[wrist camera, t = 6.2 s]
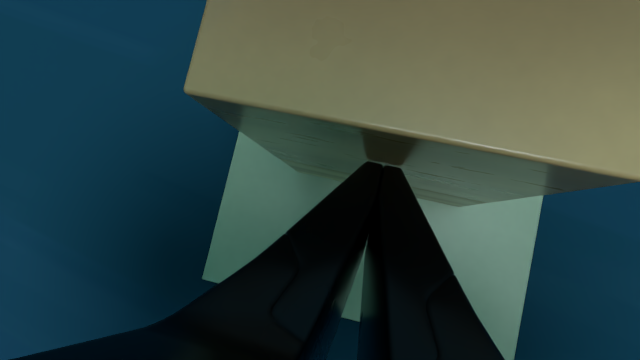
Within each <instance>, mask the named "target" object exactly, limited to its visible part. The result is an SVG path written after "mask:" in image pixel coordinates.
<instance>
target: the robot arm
mask: <svg viewBox="0 0 640 360" xmlns="http://www.w3.org/2000/svg"><path fill="white" fill-rule="evenodd" d="M367 238H368V239H367ZM366 242H367V244H366ZM365 246H366V249H365ZM364 251H365V257H364V270H363V284H362V298H361V312H360V325H359V339H358V353H357V360H505V359H504V357H503V356H502V354H501V353H500V351H499V350H498V348H497V347H496V345H495V344H494V342H493V340H492V339H491V337H490V336H489V334H488V332H487V331H486V329H485V328H484V326H483V324H482V323H481V321H480V319H479V318H478V316H477V315H476V313H475V311H474V309H473V307H472V306H471V304H470V302H469V300H468V298H467V296H466V295H465V293H464V291H463V289H462V287H461V285H460V283H459V281H458V279H457V277H456V276H455V275H454V271H453V269H452V267H451V265H450V264H449V262H448V260H447V258H446V256H445V254H444V252H443V250H442V248H441V246H440V244H439V242H438V240H437V238H436V236H435V234H434V232H433V230H432V228H431V226H430V224H429V222H428V220H427V218H426V216H425V214H424V212H423V210H422V208H421V206H420V204H419V202H418V200H417V198H416V196H415V194H414V192H413V190H412V188H411V187H410V185H409V183H408V181H407V179H406V177H405V175H404V173H403V171H402V169H401V168H399V167H394V166H389V165H384V167H383V165H382V164H380V163H375V162H370V161H366V162H365V163H363V164H362V165H361V166H360V167H359V168H358V169H357V170H356V171H354V172H353V173H352V174H351V175H350V176H349V177H348V178H346V179H345V180H344V181H343V182H342V183H341V184H340V185H339V186H337V187H336V188H335V189H334V190H333V191H332V192H331V193H329V194H328V195H327V196H326V197H325V198H324V199H323V200H322V201H320V202H319V203H318V204H317V205H316V206H315V207H314V208H312V209H311V210H310V211H309V212H308V213H307V214H306V215H305V216H303V217H302V218H301V219H300V220H299V221H298V222H297V223H295V224H294V225H293V226H292V227H291V228H290V229H289V230H288V231H286V234H283V235H282V236H281V237H279V238H278V239H277V240H276V241H275V242H274V243H273V244H272V245H270V246H269V247H268V248H267V249H265V250H264V251H263V252H262V253H261V254H259V255H258V256H257V257H256V258H254V259H253V260H252V261H250V262H249V263H247V264H246V265H245V266H243V267H242V268H240V269H239V270H238V271H236V272H235V273H233V274H232V275H231V276H229V277H228V278H226V279H225V280H223V281H222V282H220V283H219V284H217V285H216V286H214V287H213V288H212V289H210V290H209V291H207V292H206V293H204V294H203V295H201V296H200V297H198V298H197V299H195V300H194V301H193V302H191V303H190V304H188V305H187V306H185V307H184V308H182V309H181V310H179V311H178V312H176V313H174V314H173V315H171V316H169V317H167V318H165V319H163V320H161V321H159V322H157V323H155V324H152V325H149V326H147V327H144V328H140V329H137V330H132V331H128V332H124V333H120V334H116V335H111V336H107V337H103V338H99V339H95V340H91V341H86V342H82V343H78V344H74V345H70V346H66V347H61V348H57V349H53V350H49V351H45V352H41V353H36V354H32V355H28V356H24V357H20V358H15V359H10V360H326V358H327V355H328V352H329V349H330V346H331V344H332V341H333V338H334V335H335V333H336V330H337V327H338V324H339V321H340V319H341V316H342V313H343V310H344V307H345V305H346V302H347V299H348V296H349V294H350V291H351V288H352V285H353V282H354V280H355V277H356V274H357V271H358V268H359V266H360V263H361V260H362V257H363V254H364Z"/></svg>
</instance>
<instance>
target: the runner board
mask: <svg viewBox="0 0 640 360" xmlns="http://www.w3.org/2000/svg"><path fill="white" fill-rule="evenodd" d="M341 183H342V182H341V181H337V180H332V179H328V178H323V177H318V176H314V175H309V174H305V173H300V172H297V171H296V170H294V169H293V168H291V167H290V166H289V165H287V164H286V163H284V162H283V161H282V160H280V159H278V158H277V157H276V156H274V155H273V154H271V153H270V152H268V151H267V150H266V149H264V148H263V147H261V146H260V145H259V144H257V143H256V142H254V141H253V140H251V139H250V138H249V137H247V136H246V135H244V134H243V133H241V132H240V131H239V134H238V138H237V142H236V146H235V150H234V154H233V158H232V162H231V166H230V170H229V174H228V178H227V182H226V186H225V190H224V194H223V198H222V202H221V206H220V210H219V214H218V218H217V221H216V225H215V229H214V233H213V237H212V241H211V245H210V249H209V253H208V257H207V261H206V265H205V269H204V273H203V277H202V279H204V280H207V281H211V282H215V283H218V284H219V283H220V282H222V281H223V280H225V279H226V278H228V277H229V276H231V275H232V274H233V273H235V272H236V271H238V270H239V269H240V268H242V267H243V266H245V265H246V264H247V263H249V262H250V261H252V260H253V259H254V258H256V257H257V256H258V255H259V254H261V253H262V252H263V251H264V250H265V249H267V248H268V247H269V246H270V245H272V244H273V243H274V242H275V241H276V240H277V239H278V238H279V237H281V236H282V235H283V234H286V231H288V230H289V229H290V228H291V227H292V226H293V225H294V224H295V223H297V222H298V221H299V220H300V219H301V218H302V217H303V216H305V215H306V214H307V213H308V212H309V211H310V210H311V209H312V208H314V207H315V206H316V205H317V204H318V203H319V202H320V201H322V200H323V199H324V198H325V197H326V196H327V195H328V194H329V193H331V192H332V191H333V190H334V189H335V188H336V187H337V186H339V185H340V184H341ZM417 200H418V202H419V204H420V206H421V208H422V210H423V212H424V214H425V216H426V218H427V220H428V222H429V224H430V226H431V228H432V230H433V232H434V234H435V236H436V238H437V240H438V242H439V244H440V246H441V248H442V250H443V252H444V254H445V256H446V258H447V260H448V262H449V264H450V265H451V267H452V269H453V271H454V275H455V276H456V277H457V279H458V281H459V283H460V285H461V287H462V289H463V291H464V293H465V295H466V296H467V298H468V300H469V302H470V304H471V306H472V307H473V309H474V311H475V313H476V315H477V316H478V318H479V319H480V321H481V323H482V324H483V326H484V328H485V329H486V331H487V332H488V334H489V336H490V337H491V339H492V340H493V342H494V344H495V345H496V347H497V348H498V350H499V351H500V353H501V354H502V356H503V357H504V359H505V360H514V356H515V351H516V345H517V339H518V334H519V328H520V323H521V317H522V312H523V306H524V300H525V295H526V289H527V284H528V278H529V273H530V267H531V261H532V256H533V250H534V245H535V239H536V234H537V228H538V222H539V217H540V211H541V206H542V200H543V195H541V196H534V197H527V198H520V199H513V200H506V201H499V202H491V203H483V204H476V205H469V206H462V207H457V206H452V205H447V204H443V203H438V202H434V201H429V200H424V199H420V198H417ZM367 239H368V238H367ZM366 244H367V242H366ZM365 249H366V246H365ZM364 257H365V251H364V254H363V257H362V260H361V263H360V266H359V268H358V271H357V274H356V277H355V280H354V282H353V285H352V288H351V291H350V294H349V296H348V299H347V302H346V305H345V307H344V310H343V313H342V316H341V317H343V318H347V319H350V320H354V321H358V322H360V312H361V298H362V284H363V270H364Z"/></svg>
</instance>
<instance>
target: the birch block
mask: <svg viewBox="0 0 640 360" xmlns="http://www.w3.org/2000/svg"><path fill="white" fill-rule="evenodd" d="M184 92H185V93H186V94H187V95H189V96H190V97H192V98H193V99H194V100H196V101H197V102H199V103H200V104H202V105H203V106H204V107H206V108H207V109H209V110H210V111H212V112H213V113H214V114H216V115H217V116H219V117H220V118H221V119H223V120H224V121H226V122H227V123H229V124H230V125H231V126H233V127H234V128H236V129H237V130H239V131H240V132H241V133H243V134H244V135H246V136H247V137H249V138H250V139H251V140H253V141H254V142H256V143H257V144H259V145H260V146H261V147H263V148H264V149H266V150H267V151H268V152H270V153H271V154H273V155H274V156H276V157H277V158H278V159H280V160H282V161H283V162H284V163H286V164H287V165H289V166H290V167H291V168H293V169H294V170H296V171H297V172H300V173H305V174H309V175H314V176H318V177H323V178H328V179H332V180H337V181H341V182H343V181H344V180H345V179H346V178H348V177H349V176H350V175H351V174H352V173H353V172H354V171H356V170H357V169H358V168H359V167H360V166H361V165H362V164H363V163H365V162H366V161H370V162H375V163H380V164H382V165H383V167H384V165H389V166H394V167H399V168H401V169H402V171H403V173H404V175H405V177H406V179H407V181H408V183H409V185H410V187H411V188H412V190H413V192H414V194H415V196H416V198H420V199H424V200H429V201H434V202H438V203H443V204H447V205H452V206H457V207H462V206H469V205H476V204H483V203H491V202H499V201H506V200H513V199H520V198H527V197H534V196H541V195H548V194H555V193H563V192H570V191H577V190H584V189H591V188H598V187H605V186H612V185H619V184H627V183H634V182H640V0H207V2H206V6H205V10H204V14H203V17H202V21H201V25H200V29H199V32H198V36H197V40H196V44H195V47H194V51H193V55H192V59H191V62H190V66H189V70H188V74H187V78H186V81H185V85H184Z"/></svg>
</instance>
